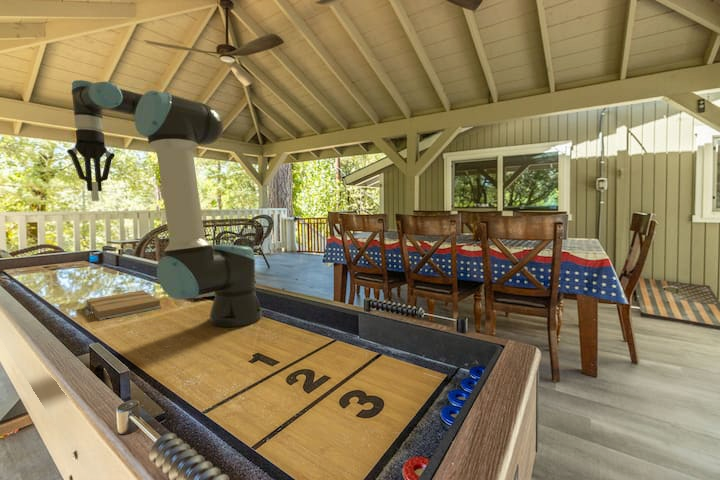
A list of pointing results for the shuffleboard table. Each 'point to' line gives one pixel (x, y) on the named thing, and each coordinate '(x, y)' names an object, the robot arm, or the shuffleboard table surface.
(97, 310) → the wooden card stand
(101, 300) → the wavy wooden board
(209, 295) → the stone slab
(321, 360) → the shuffleboard table surface
